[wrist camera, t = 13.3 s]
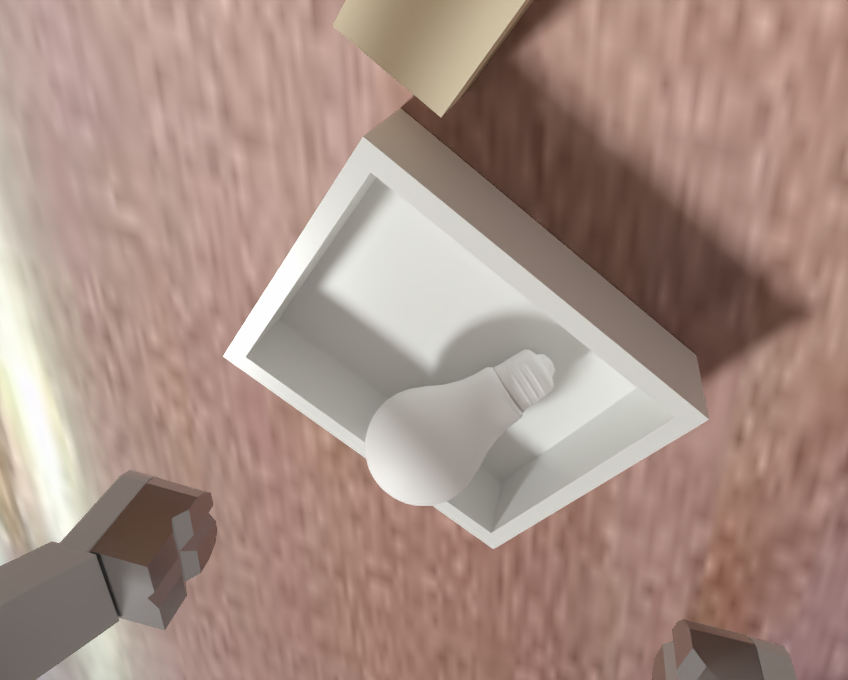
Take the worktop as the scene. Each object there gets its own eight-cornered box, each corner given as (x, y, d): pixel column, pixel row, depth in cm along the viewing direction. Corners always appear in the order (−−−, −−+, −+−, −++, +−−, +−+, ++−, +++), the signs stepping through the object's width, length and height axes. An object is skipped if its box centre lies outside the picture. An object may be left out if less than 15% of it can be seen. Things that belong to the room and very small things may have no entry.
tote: (696, 355, 30) (709, 419, 26) (505, 486, 38) (493, 549, 34) (400, 107, 27) (363, 136, 23) (266, 309, 36) (222, 356, 32)
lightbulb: (588, 416, 32) (422, 523, 33) (525, 326, 34) (370, 430, 35) (585, 406, 26) (383, 535, 27) (508, 298, 28) (325, 424, 29)
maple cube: (545, -17, 23) (531, -8, 19) (467, 90, 26) (441, 117, 22) (445, -108, 22) (408, -120, 18) (377, 12, 25) (332, 25, 21)
